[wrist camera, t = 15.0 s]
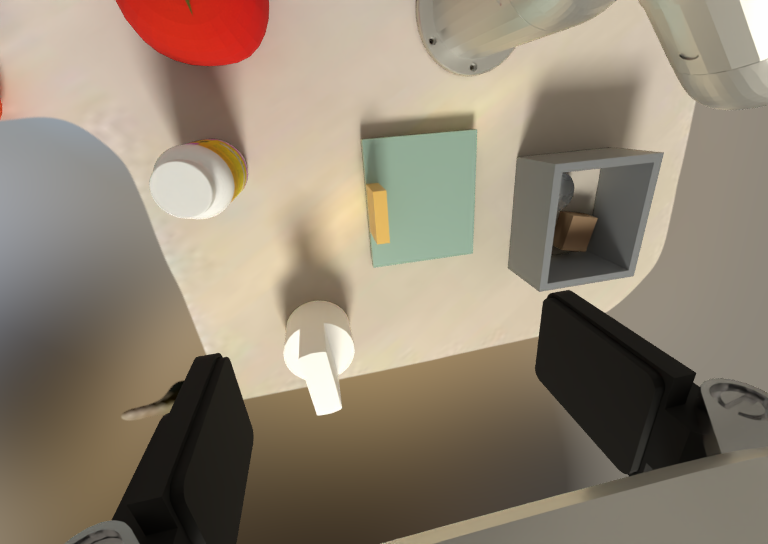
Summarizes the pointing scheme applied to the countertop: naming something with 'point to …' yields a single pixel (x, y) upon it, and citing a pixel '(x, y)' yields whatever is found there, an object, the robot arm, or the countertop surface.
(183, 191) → the supplement bottle
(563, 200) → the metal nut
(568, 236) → the walnut block
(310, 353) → the cylinder with rectangular tab
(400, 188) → the door
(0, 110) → the clementine
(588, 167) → the tub
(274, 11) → the countertop surface
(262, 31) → the tomato
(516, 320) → the countertop surface
